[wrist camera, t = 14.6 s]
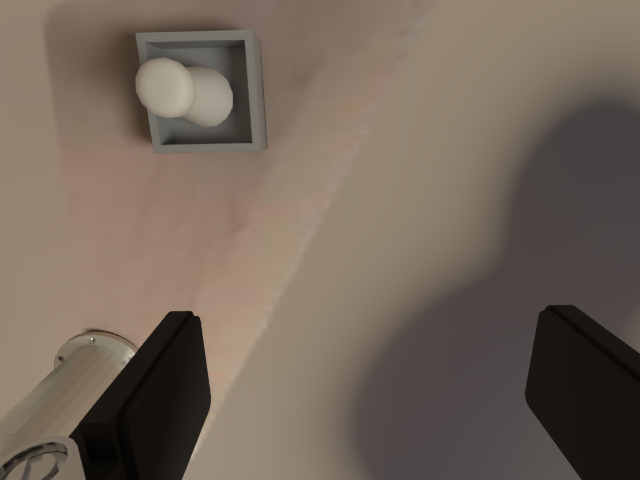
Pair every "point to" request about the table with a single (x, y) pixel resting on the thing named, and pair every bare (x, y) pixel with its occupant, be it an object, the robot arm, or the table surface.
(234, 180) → the table surface
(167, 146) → the tray
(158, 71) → the salt shaker
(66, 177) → the table surface
